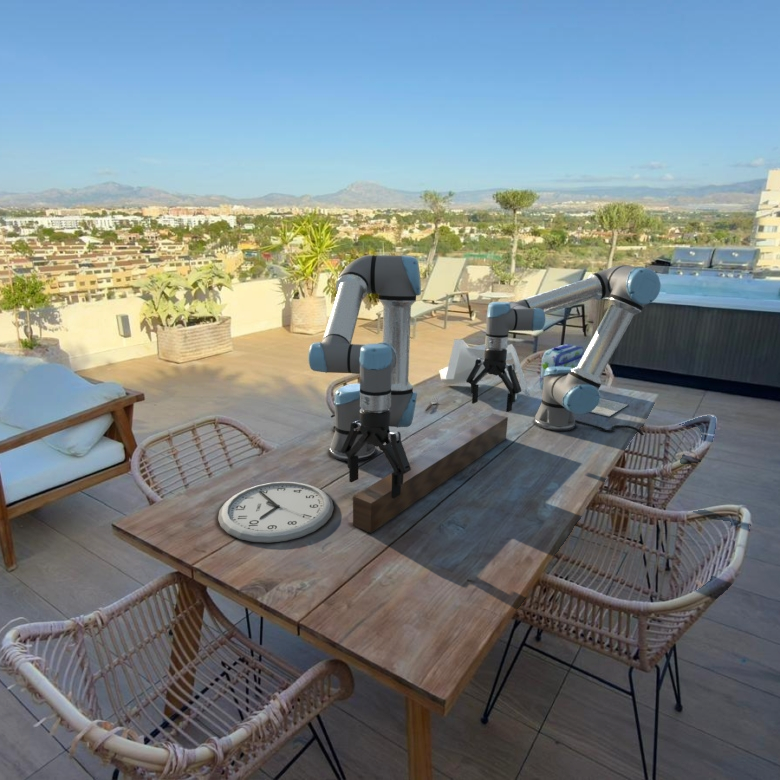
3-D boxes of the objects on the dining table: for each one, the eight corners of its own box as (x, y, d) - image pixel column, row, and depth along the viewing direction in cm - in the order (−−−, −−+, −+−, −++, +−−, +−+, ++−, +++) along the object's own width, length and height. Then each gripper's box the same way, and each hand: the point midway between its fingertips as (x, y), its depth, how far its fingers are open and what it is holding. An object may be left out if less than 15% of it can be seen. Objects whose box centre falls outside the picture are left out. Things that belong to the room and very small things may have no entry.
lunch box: (556, 397, 238) (561, 352, 232) (535, 391, 245) (539, 348, 239) (582, 385, 256) (588, 344, 249) (562, 381, 263) (567, 340, 257)
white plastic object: (461, 429, 252) (437, 405, 227) (444, 352, 274) (420, 323, 250) (535, 404, 240) (518, 377, 215) (510, 326, 262) (492, 293, 237)
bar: (491, 434, 194) (492, 413, 191) (505, 438, 190) (507, 417, 188) (352, 525, 133) (352, 496, 131) (370, 533, 130) (371, 503, 128)
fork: (422, 411, 216) (422, 407, 215) (433, 400, 230) (433, 396, 230) (428, 412, 215) (429, 407, 215) (438, 401, 230) (439, 396, 229)
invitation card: (608, 416, 214) (573, 407, 224) (608, 416, 214) (573, 408, 224) (628, 404, 229) (594, 396, 238) (628, 405, 229) (594, 397, 238)
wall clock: (332, 534, 126) (204, 538, 124) (332, 540, 127) (205, 544, 124) (334, 477, 155) (230, 480, 152) (334, 482, 155) (231, 485, 153)
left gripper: (326, 401, 131) (328, 479, 137) (408, 424, 116) (406, 509, 122) (346, 395, 136) (347, 469, 142) (427, 415, 122) (423, 497, 128)
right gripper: (458, 344, 183) (455, 401, 190) (525, 355, 168) (519, 417, 175) (470, 341, 189) (466, 396, 195) (534, 351, 174) (529, 411, 180)
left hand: (374, 488), depth 132 cm, fingers open, 13 cm apart
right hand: (491, 406), depth 185 cm, fingers open, 13 cm apart
